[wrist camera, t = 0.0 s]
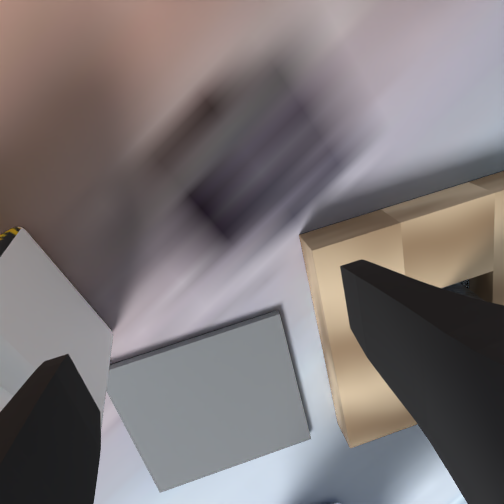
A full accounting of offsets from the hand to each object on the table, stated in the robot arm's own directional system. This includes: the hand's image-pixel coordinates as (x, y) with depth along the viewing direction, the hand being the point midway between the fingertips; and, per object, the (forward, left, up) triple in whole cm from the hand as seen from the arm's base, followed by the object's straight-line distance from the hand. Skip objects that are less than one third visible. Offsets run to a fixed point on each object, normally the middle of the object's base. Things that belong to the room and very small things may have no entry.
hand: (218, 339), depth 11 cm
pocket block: (-10, -12, -10) cm, 19 cm away
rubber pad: (-12, +2, -10) cm, 16 cm away
